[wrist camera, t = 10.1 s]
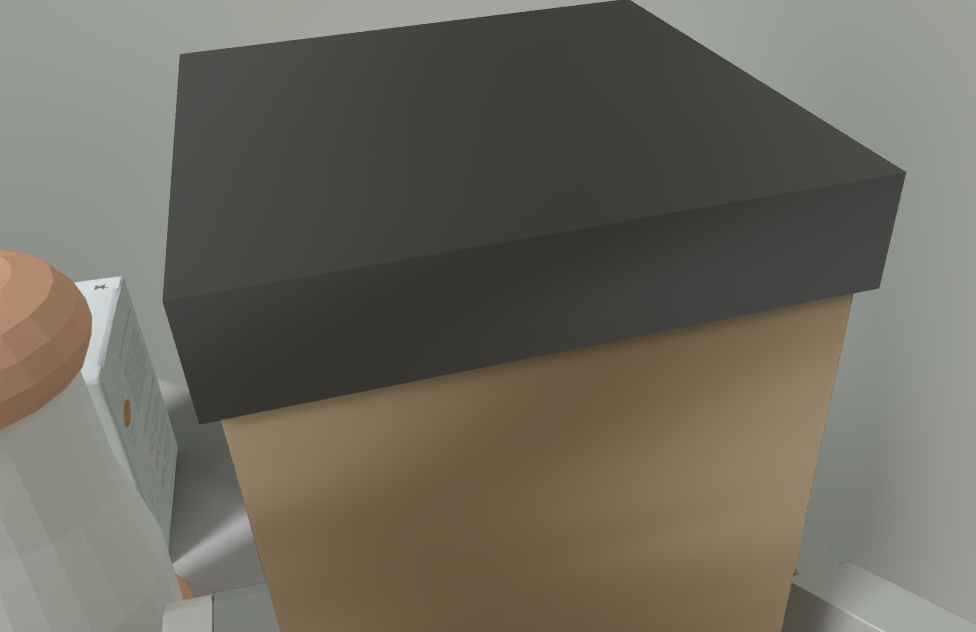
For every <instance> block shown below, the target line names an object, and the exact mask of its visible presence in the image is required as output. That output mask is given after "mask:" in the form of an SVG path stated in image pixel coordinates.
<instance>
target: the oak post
mask: <svg viewBox="0 0 976 632" xmlns="http://www.w3.org/2000/svg"><path fill="white" fill-rule="evenodd" d="M905 175H906V172H905V171H903V170H902V169H900V168H898V167H897V166H895V165H894V164H892V163H890V162H889V161H887V160H886V159H884V158H882V157H881V156H879V155H878V154H876V153H874V152H873V151H871V150H870V149H868V148H866V147H865V146H863V145H861V144H860V143H858V142H857V141H855V140H854V139H852V138H850V137H849V136H847V135H845V134H844V133H842V132H841V131H839V130H838V129H836V128H834V127H833V126H831V125H829V124H828V123H826V122H825V121H823V120H821V119H820V118H818V117H817V116H815V115H813V114H812V113H810V112H809V111H807V110H805V109H804V108H802V107H801V106H799V105H797V104H796V103H794V102H793V101H791V100H789V99H788V98H786V97H785V96H783V95H781V94H780V93H778V92H776V91H775V90H773V89H772V88H770V87H769V86H767V85H765V84H764V83H762V82H761V81H759V80H757V79H756V78H754V77H753V76H751V75H749V74H748V73H746V72H744V71H743V70H741V69H740V68H738V67H736V66H735V65H733V64H732V63H730V62H729V61H727V60H725V59H724V58H722V57H720V56H719V55H717V54H716V53H714V52H712V51H711V50H709V49H708V48H706V47H704V46H703V45H701V44H700V43H698V42H696V41H695V40H693V39H692V38H690V37H688V36H687V35H685V34H684V33H682V32H680V31H679V30H677V29H676V28H674V27H672V26H670V25H669V24H667V23H666V22H664V21H662V20H661V19H660V18H658V17H656V16H655V15H653V14H652V13H650V12H648V11H647V10H645V9H644V8H642V7H640V6H639V5H637V4H635V3H634V2H632V1H631V0H616V1H608V2H601V3H592V4H585V5H576V6H568V7H560V8H551V9H543V10H535V11H527V12H519V13H511V14H503V15H495V16H486V17H478V18H471V19H462V20H454V21H446V22H438V23H430V24H421V25H413V26H405V27H397V28H389V29H381V30H373V31H366V32H357V33H349V34H340V35H333V36H324V37H316V38H308V39H300V40H292V41H284V42H276V43H268V44H260V45H251V46H244V47H235V48H227V49H219V50H211V51H202V52H194V53H186V54H180V62H179V76H178V89H177V104H176V119H175V132H174V147H173V161H172V176H171V190H170V204H169V218H168V232H167V247H166V262H165V275H164V290H163V304H164V308H165V311H166V314H167V317H168V321H169V324H170V328H171V331H172V334H173V338H174V341H175V344H176V347H177V351H178V354H179V358H180V361H181V364H182V368H183V371H184V374H185V378H186V381H187V384H188V388H189V391H190V395H191V398H192V401H193V405H194V408H195V411H196V415H197V418H198V421H199V424H204V423H209V422H214V421H219V420H221V422H222V426H223V429H224V433H225V436H226V440H227V443H228V447H229V451H230V454H231V458H232V461H233V465H234V468H235V472H236V475H237V479H238V483H239V486H240V490H241V493H242V497H243V500H244V504H245V508H246V511H247V515H248V518H249V522H250V525H251V529H252V533H253V536H254V540H255V543H256V547H257V550H258V554H259V557H260V561H261V565H262V568H263V572H264V575H265V579H266V582H267V586H268V590H269V593H270V597H271V600H272V604H273V607H274V611H275V614H276V618H277V622H278V625H279V629H280V632H781V629H782V624H783V620H784V615H785V610H786V606H787V601H788V596H789V592H790V587H791V582H792V578H793V573H794V568H795V564H796V559H797V554H798V550H799V545H800V541H801V536H802V531H803V527H804V522H805V517H806V513H807V508H808V503H809V499H810V494H811V489H812V485H813V480H814V475H815V471H816V466H817V461H818V456H819V452H820V447H821V443H822V437H823V433H824V429H825V424H826V419H827V415H828V410H829V406H830V401H831V396H832V392H833V387H834V382H835V377H836V373H837V368H838V364H839V359H840V354H841V350H842V345H843V340H844V335H845V331H846V326H847V321H848V317H849V312H850V308H851V303H852V298H853V294H854V293H857V292H862V291H868V290H873V289H878V288H879V286H880V282H881V278H882V274H883V269H884V265H885V260H886V256H887V252H888V248H889V243H890V239H891V235H892V231H893V226H894V222H895V218H896V213H897V209H898V205H899V201H900V196H901V192H902V188H903V184H904V179H905Z"/></svg>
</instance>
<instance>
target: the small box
mask: <svg viewBox="0 0 976 632" xmlns="http://www.w3.org/2000/svg"><path fill="white" fill-rule="evenodd" d="M75 285H76V286H77V287H78V289H79V290H80V291H81V293H82V294H83V295H84V297H85V298H86V300H87V303H88V306H89V308H90V311H91V314H92V335H91V339H90V343H89V347H88V350H87V354H86V357H85V361H84V365H83V368H82V369H81V373H82V375H83V378H84V380H85V383H86V386H87V388H88V391H89V393H90V396H91V398H92V401H93V403H94V406H95V409H96V411H97V414H98V416H99V419H100V421H101V424H102V426H103V429H104V432H105V434H106V437H107V439H108V442H109V444H110V447H111V449H112V452H113V454H114V455H115V457H116V458H117V460H118V461H119V463H120V465H121V466H122V468H123V469H124V471H125V472H126V474H127V475H128V477H129V479H130V480H131V482H132V483H133V485H134V486H135V488H136V489H137V491H138V493H139V494H140V496H141V497H142V499H143V500H144V502H145V503H146V505H147V507H148V508H149V510H150V511H151V513H152V514H153V516H154V517H155V519H156V520H157V522H158V524H159V526H160V528H161V531H162V534H163V537H164V540H165V542H166V545H167V548H168V552H169V540H170V528H171V517H172V506H173V495H174V484H175V471H176V460H177V452H178V446H177V443H176V439H175V436H174V433H173V429H172V426H171V423H170V419H169V416H168V413H167V410H166V407H165V403H164V400H163V397H162V394H161V391H160V388H159V384H158V381H157V378H156V375H155V372H154V369H153V366H152V362H151V359H150V357H149V353H148V350H147V347H146V344H145V341H144V338H143V335H142V332H141V329H140V326H139V323H138V320H137V316H136V313H135V310H134V307H133V304H132V301H131V297H130V294H129V291H128V288H127V285H126V281H125V278H124V277H112V278H104V279H96V280H90V281H82V282H77V283H75Z"/></svg>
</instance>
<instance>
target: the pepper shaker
mask: <svg viewBox="0 0 976 632" xmlns="http://www.w3.org/2000/svg"><path fill="white" fill-rule="evenodd" d="M91 335H92V314H91V311H90V308H89V306H88V303H87V300H86V298H85V297H84V295H83V294H82V293H81V291H80V290H79V289H78V287H77V286H76V285H75V283H74V282H73V281H72V280H71V279H70V278H68V277H67V276H65V275H64V274H62V273H61V272H59V271H58V270H56V269H55V268H53V267H52V266H50V265H49V264H47V263H45V262H44V261H42V260H41V259H39V258H38V257H36V256H34V255H30V254H25V253H21V252H16V251H12V250H0V632H162V627H163V616H164V613H165V610H166V607H167V603H171V602H176V601H180V600H185V599H190V598H194V597H195V596H194V593H193V591H192V588H191V587H189V586H188V585H187V584H186V583H185V582H184V581H183V580H182V579H181V578H180V577H179V576H178V575H177V574H176V573H175V571H174V568H173V564H172V561H171V558H170V555H169V552H168V548H167V545H166V542H165V540H164V537H163V534H162V531H161V528H160V526H159V524H158V522H157V520H156V519H155V517H154V516H153V514H152V513H151V511H150V510H149V508H148V507H147V505H146V503H145V502H144V500H143V499H142V497H141V496H140V494H139V493H138V491H137V489H136V488H135V486H134V485H133V483H132V482H131V480H130V479H129V477H128V475H127V474H126V472H125V471H124V469H123V468H122V466H121V465H120V463H119V461H118V460H117V458H116V457H115V455H114V454H113V452H112V449H111V447H110V444H109V442H108V439H107V437H106V434H105V432H104V429H103V426H102V424H101V421H100V419H99V416H98V414H97V411H96V409H95V406H94V403H93V401H92V398H91V396H90V393H89V391H88V388H87V386H86V383H85V380H84V378H83V375H82V373H81V369H82V368H83V365H84V361H85V357H86V354H87V350H88V347H89V343H90V339H91Z"/></svg>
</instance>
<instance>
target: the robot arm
mask: <svg viewBox="0 0 976 632" xmlns="http://www.w3.org/2000/svg"><path fill="white" fill-rule="evenodd" d="M162 632H280V629H279V625H278V622H277V618H276V614H275V611H274V607H273V604H272V600H271V597H270V593H269V590H268V586H267V582H264V583H259V584H254V585H250V586H245V587H240V588H235V589H230V590H225V591H220V592H215V593H213V594H209V595H204V596H199V597H194V598H190V599H185V600H180V601H176V602H171V603H167V607H166V610H165V613H164V616H163V627H162ZM781 632H976V624H975V623H973V622H971V621H969V620H967V619H964V618H963V617H961V616H959V615H957V614H955V613H953V612H951V611H949V610H947V609H945V608H943V607H941V606H939V605H937V604H935V603H933V602H931V601H929V600H927V599H925V598H923V597H921V596H919V595H917V594H915V593H913V592H911V591H909V590H907V589H905V588H903V587H901V586H899V585H897V584H895V583H893V582H891V581H889V580H887V579H885V578H883V577H881V576H879V575H877V574H875V573H873V572H871V571H869V570H867V569H865V568H863V567H861V566H859V565H857V564H855V563H853V562H851V561H849V562H844V563H838V562H837V560H836V559H835V558H834V557H833V555H832V554H831V553H830V551H829V550H828V549H827V548H826V546H825V545H824V544H823V543H822V541H821V540H820V539H819V538H818V536H817V535H816V534H815V532H814V531H813V530H812V529H811V527H810V526H809V525H808V523H807V522H806V521H805V522H804V527H803V531H802V536H801V541H800V545H799V550H798V554H797V559H796V564H795V568H794V573H793V578H792V582H791V587H790V592H789V596H788V601H787V606H786V610H785V615H784V620H783V624H782V629H781Z"/></svg>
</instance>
